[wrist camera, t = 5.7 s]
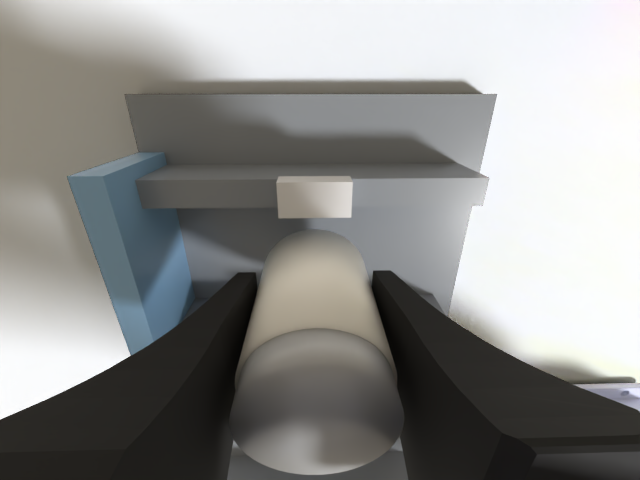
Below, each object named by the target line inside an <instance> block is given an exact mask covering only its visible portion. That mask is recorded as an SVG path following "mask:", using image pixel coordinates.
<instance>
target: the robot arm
mask: <svg viewBox="0 0 640 480" xmlns="http://www.w3.org/2000/svg"><path fill="white" fill-rule="evenodd" d="M257 290H258V288H257V279H256V272H238V273H237V274H236V275H235V276H234V277H232V278H231V279H230V280H229V281H228V282H227V283H226V284H225V285H224V286H223V287H222V288H221V289H220V290H219V291H218V292H216V293H215V294H214V295H213V296H212V297H211V298H210V299H209V300H208V301H206V302H205V303H204V304H203V305H202V306H201V307H199V308H198V309H197V310H196V311H194V312H193V313H192V314H191V315H190V316H188V317H187V318H186V319H185V320H183V321H182V322H181V323H180V324H178V325H177V326H176V327H174V328H173V329H172V330H170V331H169V332H167V333H166V334H165V335H163V336H162V337H160V338H159V339H157V340H156V341H154V342H153V343H151V344H150V345H148V346H147V347H145V348H143V349H142V350H140V351H138V352H137V353H135V354H133V355H131V356H130V357H128V358H126V359H125V360H123V361H121V362H120V363H118V364H116V365H114V366H113V367H111V368H109V369H107V370H106V371H104V372H102V373H100V374H98V375H96V376H94V377H92V378H90V379H88V380H86V381H84V382H82V383H80V384H78V385H76V386H74V387H72V388H70V389H68V390H66V391H64V392H62V393H60V394H58V395H56V396H53V397H51V398H49V399H47V400H45V401H42V402H40V403H38V404H35V405H33V406H31V407H29V408H26V409H24V410H22V411H19V412H17V413H15V414H12V415H10V416H8V417H5V418H3V419H1V420H0V480H227V476H228V470H229V464H230V458H231V452H232V446H233V441H234V439H233V437H232V435H231V431H230V427H229V418H230V412H231V408H232V404H233V400H234V396H235V392H236V389H235V374H236V370H237V366H238V362H239V359H240V355H241V351H242V347H243V343H244V340H245V336H246V332H247V328H248V324H249V321H250V317H251V313H252V309H253V305H254V302H255V298H256V294H257ZM372 291H373V294H374V298H375V301H376V304H377V308H378V311H379V314H380V317H381V321H382V324H383V327H384V331H385V334H386V337H387V341H388V344H389V347H390V351H391V354H392V357H393V361H394V364H395V367H396V371H397V389H398V393H399V396H400V400H401V403H402V407H403V410H404V426H403V429H402V432H401V434H400V440H401V445H402V450H403V455H404V460H405V465H406V470H407V475H408V480H640V383H610V384H570V383H568V382H566V381H564V380H561V379H559V378H557V377H555V376H552V375H550V374H548V373H546V372H543V371H541V370H539V369H537V368H535V367H533V366H531V365H529V364H527V363H525V362H523V361H521V360H519V359H517V358H515V357H513V356H511V355H509V354H507V353H505V352H503V351H502V350H500V349H498V348H496V347H494V346H492V345H491V344H489V343H487V342H485V341H484V340H482V339H480V338H479V337H477V336H476V335H474V334H472V333H471V332H469V331H468V330H466V329H464V328H463V327H461V326H460V325H458V324H457V323H455V322H454V321H452V320H451V319H450V318H448V317H447V316H446V315H444V314H443V313H441V312H440V311H439V310H437V309H436V308H435V307H434V306H432V305H431V304H430V303H428V302H427V301H426V300H425V299H424V298H422V297H421V296H420V295H419V294H418V293H416V292H415V291H414V290H413V289H412V288H411V287H409V286H408V285H407V284H406V283H405V282H404V281H403V280H401V279H400V278H399V277H398V276H397V275H396V274H395V273H393V272H392V271H391V270H375V271H373V277H372Z"/></svg>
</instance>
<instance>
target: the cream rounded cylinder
mask: <svg viewBox="0 0 640 480" xmlns="http://www.w3.org/2000/svg"><path fill="white" fill-rule="evenodd" d="M235 389H236V392H235V396H234V400H233V404H232V408H231V412H230V418H229V427H230V431H231V435H232V437H233V439H234V441H235V443H236V444H237V445H238V446H239V448H240V449H241V450H242V451H243V452H244V453H245V454H246V455H248V456H249V457H251V458H252V459H254V460H255V461H257V462H259V463H261V464H263V465H265V466H267V467H270V468H273V469H276V470H279V471H284V472H288V473H294V474H303V475H323V474H333V473H339V472H344V471H348V470H351V469H355V468H358V467H360V466H363V465H365V464H367V463H370V462H372V461H374V460H375V459H377V458H378V457H380V456H381V455H383V454H384V453H385V452H387V451H388V450H389V449H390V448H391V447H392V446H393V445H394V443H395V442H396V441H397V439H398V438H399V436H400V434H401V432H402V429H403V426H404V410H403V407H402V403H401V400H400V396H399V393H398V389H397V371H396V367H395V364H394V361H393V357H392V354H391V351H390V347H389V344H388V341H387V337H386V334H385V331H384V327H383V324H382V321H381V317H380V314H379V311H378V308H377V304H376V301H375V298H374V294H373V291H372V288H371V284H370V281H369V278H368V274H367V271H366V268H365V264H364V261H363V258H362V256H361V254H360V252H359V251H358V249H357V248H356V247H355V246H354V245H353V244H352V243H351V242H350V241H349V240H348V239H346V238H344V237H343V236H341V235H339V234H337V233H334V232H331V231H326V230H319V229H311V230H303V231H299V232H296V233H293V234H291V235H288V236H286V237H285V238H283V239H282V240H280V241H279V242H278V243H277V244H276V245H275V246H274V247H273V248H272V249H271V251H270V252H269V254H268V256H267V258H266V260H265V264H264V267H263V271H262V275H261V279H260V283H259V286H258V290H257V294H256V298H255V302H254V305H253V309H252V313H251V317H250V321H249V324H248V328H247V332H246V336H245V340H244V343H243V347H242V351H241V355H240V359H239V362H238V366H237V370H236V374H235Z"/></svg>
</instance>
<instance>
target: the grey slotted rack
mask: <svg viewBox="0 0 640 480" xmlns="http://www.w3.org/2000/svg"><path fill="white" fill-rule="evenodd" d="M496 97H497V94H125V98H126V102H127V106H128V110H129V114H130V118H131V122H132V126H133V130H134V134H135V139H136V143H137V147H138V151H139V152H138V153H135V154H132V155H129V156H126V157H123V158H121V159H118V160H115V161H112V162H109V163H106V164H103V165H100V166H97V167H94V168H91V169H88V170H85V171H82V172H79V173H76V174H73V175H70V176H67V178H68V181H69V184H70V187H71V190H72V192H73V195H74V198H75V201H76V204H77V206H78V209H79V212H80V215H81V218H82V220H83V223H84V226H85V229H86V231H87V234H88V237H89V240H90V243H91V245H92V248H93V251H94V254H95V257H96V259H97V262H98V265H99V268H100V271H101V273H102V276H103V279H104V282H105V285H106V287H107V290H108V293H109V296H110V299H111V301H112V304H113V307H114V310H115V313H116V315H117V318H118V321H119V324H120V326H121V329H122V332H123V335H124V338H125V340H126V343H127V346H128V349H129V352H130V354H131V355H133V354H135V353H137V352H138V351H140V350H142V349H143V348H145V347H147V346H148V345H150V344H151V343H153V342H154V341H156V340H157V339H159V338H160V337H162V336H163V335H165V334H166V333H167V332H169V331H170V330H172V329H173V328H174V327H176V326H177V325H178V324H180V323H181V322H182V321H183V320H185V319H186V318H187V317H188V316H190V315H191V314H192V313H193V312H194V311H196V310H197V309H198V308H199V307H201V306H202V305H203V304H204V303H205V302H206V301H208V300H209V299H210V298H211V297H212V296H213V295H214V294H215V293H216V292H218V291H219V290H220V289H221V288H222V287H223V286H224V285H225V284H226V283H227V282H228V281H229V280H230V279H231V278H232V277H234V276H235V275H236V274H237V273H238V272H256V279H257V288H258V286H259V283H260V279H261V275H262V271H263V267H264V264H265V260H266V258H267V256H268V254H269V252H270V251H271V249H272V248H273V247H274V246H275V245H276V244H277V243H278V242H279V241H280V240H282V239H283V238H285V237H286V236H288V235H291V234H293V233H296V232H299V231H303V230H311V229H319V230H326V231H331V232H334V233H337V234H339V235H341V236H343V237H344V238H346V239H348V240H349V241H350V242H351V243H352V244H353V245H354V246H355V247H356V248H357V249H358V251H359V252H360V254H361V256H362V258H363V261H364V264H365V268H366V271H367V274H368V278H369V281H370V284H371V288H372V277H373V271H375V270H391V271H392V272H393V273H395V274H396V275H397V276H398V277H399V278H400V279H401V280H403V281H404V282H405V283H406V284H407V285H408V286H409V287H411V288H412V289H413V290H414V291H415V292H416V293H418V294H419V295H420V296H421V297H422V298H424V299H425V300H426V301H427V302H428V303H430V304H431V305H432V306H434V307H435V308H436V309H437V310H439V311H440V312H441V313H443V314H444V315H446V316H448V311H449V307H450V302H451V298H452V294H453V289H454V285H455V280H456V276H457V271H458V267H459V262H460V258H461V253H462V249H463V244H464V240H465V235H466V231H467V226H468V222H469V217H470V213H471V209H472V206H483V203H484V199H485V194H486V190H487V186H488V182H489V177H486V176H484V175H482V174H480V168H481V164H482V159H483V155H484V150H485V146H486V141H487V137H488V132H489V128H490V124H491V119H492V115H493V110H494V106H495V101H496ZM227 480H408V475H407V470H406V465H405V460H404V455H403V450H402V445H401V440H400V436H399V438H398V439H397V441H396V442H395V443H394V445H393V446H392V447H391V448H390V449H389V450H388V451H387V452H385V453H384V454H383V455H381V456H380V457H378V458H377V459H375V460H374V461H372V462H370V463H367V464H365V465H363V466H360V467H358V468H355V469H351V470H348V471H344V472H339V473H333V474H323V475H303V474H294V473H288V472H284V471H279V470H276V469H273V468H270V467H267V466H265V465H263V464H261V463H259V462H257V461H255V460H254V459H252V458H251V457H249V456H248V455H246V454H245V453H244V452H243V451H242V450H241V449H240V448H239V446H238V445H237V444H236V443H235V441H233V446H232V452H231V458H230V464H229V470H228V476H227Z"/></svg>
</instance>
